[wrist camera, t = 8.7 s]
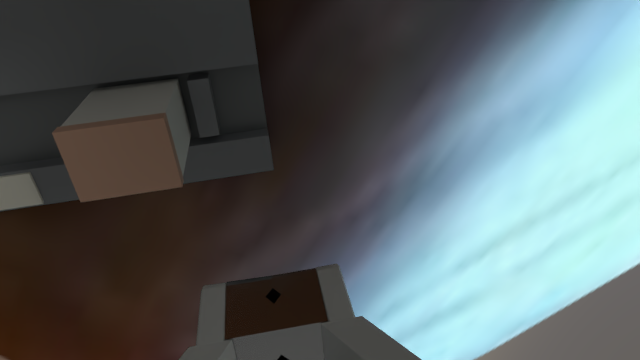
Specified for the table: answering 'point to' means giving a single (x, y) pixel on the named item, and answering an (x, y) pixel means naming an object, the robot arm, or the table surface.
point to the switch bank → (126, 83)
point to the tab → (126, 140)
